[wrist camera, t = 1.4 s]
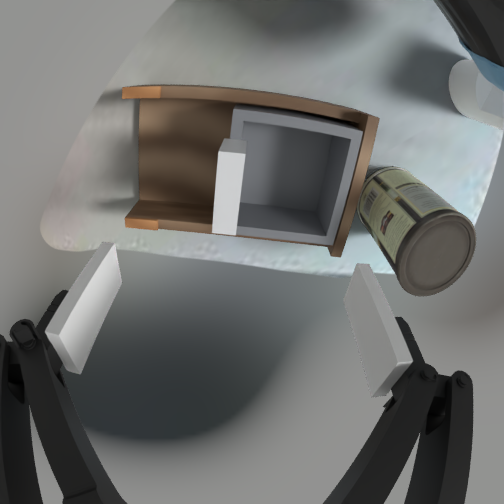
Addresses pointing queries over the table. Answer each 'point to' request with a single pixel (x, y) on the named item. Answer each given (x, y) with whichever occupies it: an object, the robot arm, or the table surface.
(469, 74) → the base with upright slab
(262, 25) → the table surface
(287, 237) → the box
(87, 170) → the table surface
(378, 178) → the coffee can
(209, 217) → the bay
